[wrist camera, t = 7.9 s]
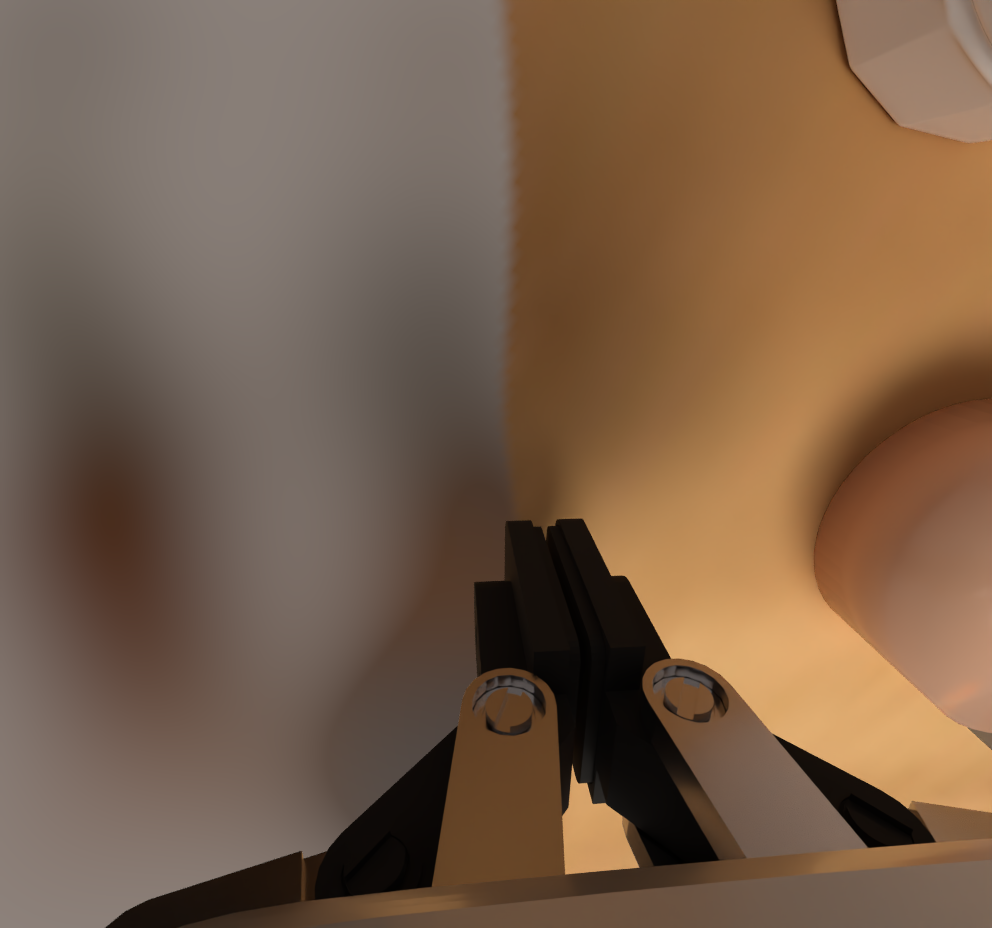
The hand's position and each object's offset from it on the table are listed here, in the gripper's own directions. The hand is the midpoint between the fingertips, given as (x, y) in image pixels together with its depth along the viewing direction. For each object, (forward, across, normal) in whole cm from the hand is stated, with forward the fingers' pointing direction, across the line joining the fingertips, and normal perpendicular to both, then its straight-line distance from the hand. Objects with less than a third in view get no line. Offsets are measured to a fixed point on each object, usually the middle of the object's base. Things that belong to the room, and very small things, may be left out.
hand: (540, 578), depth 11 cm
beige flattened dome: (+2, -11, 0) cm, 11 cm away
